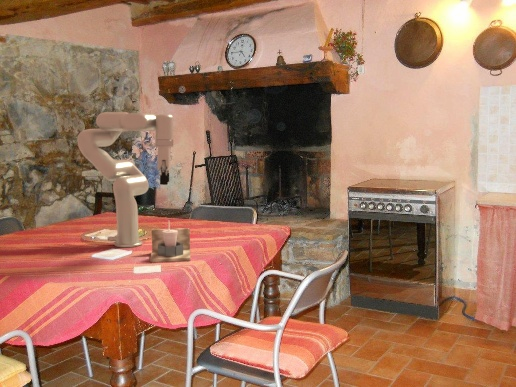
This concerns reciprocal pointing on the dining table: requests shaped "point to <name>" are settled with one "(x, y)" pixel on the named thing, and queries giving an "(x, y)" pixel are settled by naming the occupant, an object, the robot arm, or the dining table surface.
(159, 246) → the holder
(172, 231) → the smoothie
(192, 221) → the dining table surface
